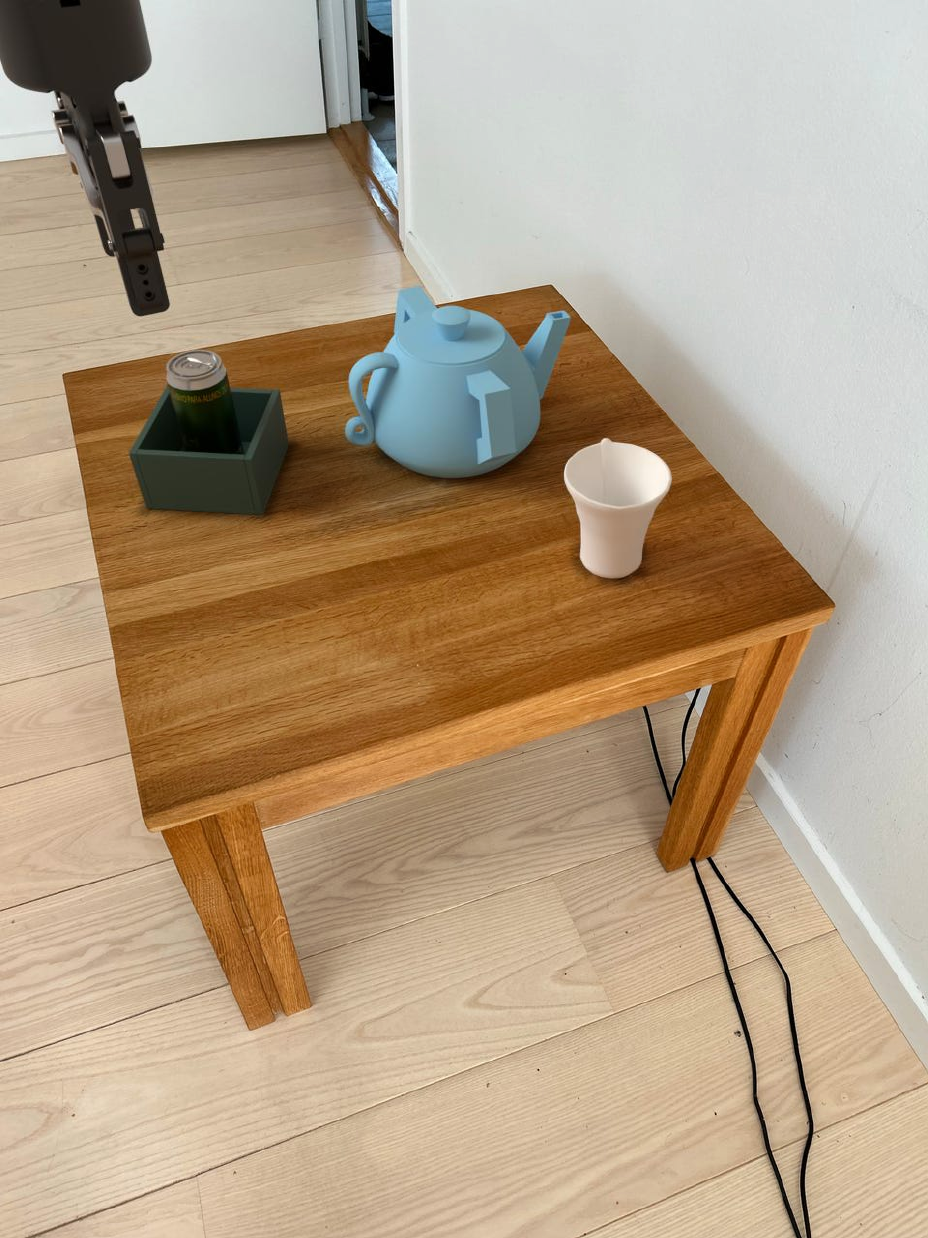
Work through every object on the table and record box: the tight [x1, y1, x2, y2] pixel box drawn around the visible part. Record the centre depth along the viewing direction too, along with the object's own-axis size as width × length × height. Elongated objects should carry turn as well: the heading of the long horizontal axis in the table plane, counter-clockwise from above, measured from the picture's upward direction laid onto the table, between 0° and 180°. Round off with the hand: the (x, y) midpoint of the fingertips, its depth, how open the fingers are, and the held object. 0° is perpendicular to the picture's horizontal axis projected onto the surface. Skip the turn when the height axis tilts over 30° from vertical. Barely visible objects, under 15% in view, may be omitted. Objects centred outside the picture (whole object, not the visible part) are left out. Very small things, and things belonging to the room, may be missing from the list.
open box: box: [128, 384, 290, 516], centre depth 90 cm, size 11×11×6 cm
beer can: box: [165, 349, 244, 455], centre depth 87 cm, size 5×5×12 cm
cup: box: [563, 437, 673, 580], centre depth 80 cm, size 9×9×10 cm
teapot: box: [344, 284, 572, 479], centre depth 92 cm, size 19×19×14 cm
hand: (136, 280), depth 57 cm, fingers open, 8 cm apart
